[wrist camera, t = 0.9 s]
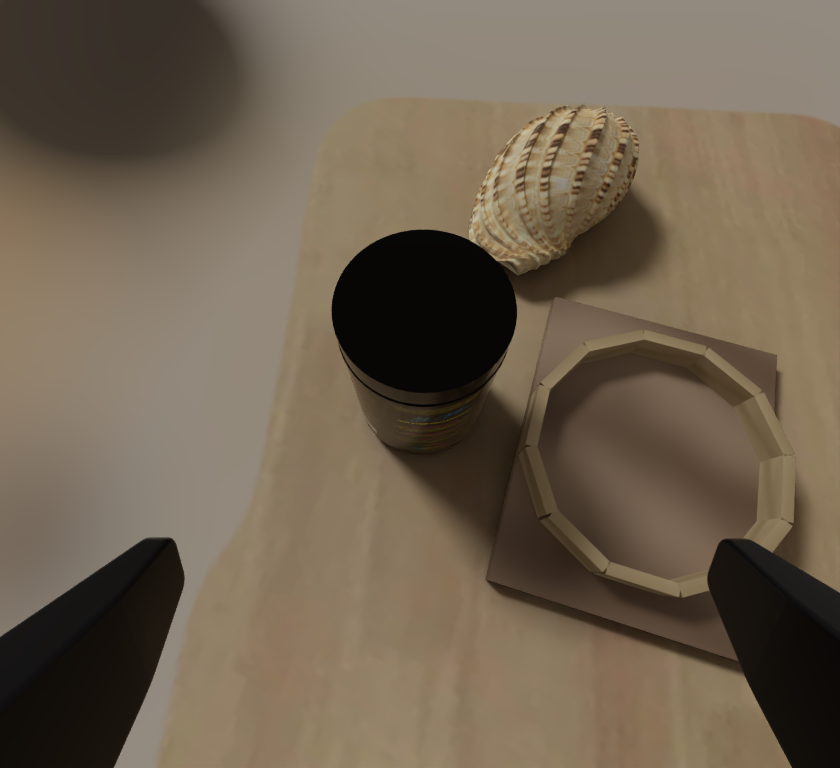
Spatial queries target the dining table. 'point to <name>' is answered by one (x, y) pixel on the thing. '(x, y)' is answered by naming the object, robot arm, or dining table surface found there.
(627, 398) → the collar board
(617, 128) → the seashell
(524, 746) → the dining table surface
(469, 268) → the supplement container
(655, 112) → the dining table surface
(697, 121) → the dining table surface
